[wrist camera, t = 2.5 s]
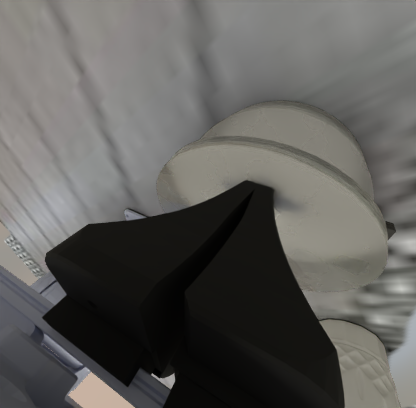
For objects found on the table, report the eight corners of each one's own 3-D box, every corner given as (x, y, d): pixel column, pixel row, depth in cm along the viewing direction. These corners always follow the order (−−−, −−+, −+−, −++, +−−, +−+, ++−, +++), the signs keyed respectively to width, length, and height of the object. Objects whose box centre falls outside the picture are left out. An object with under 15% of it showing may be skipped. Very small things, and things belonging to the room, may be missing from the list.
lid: (320, 294, 17) (315, 322, 16) (182, 234, 21) (170, 252, 20) (499, 193, 6) (525, 258, 5) (137, 109, 10) (106, 134, 9)
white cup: (323, 304, 22) (320, 429, 14) (411, 343, 19) (460, 516, 12) (297, 333, 27) (285, 437, 19) (365, 367, 24) (380, 500, 17)
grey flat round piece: (327, 281, 20) (327, 311, 17) (187, 224, 25) (172, 241, 22) (451, 127, 11) (485, 147, 8) (190, 84, 16) (165, 88, 13)
